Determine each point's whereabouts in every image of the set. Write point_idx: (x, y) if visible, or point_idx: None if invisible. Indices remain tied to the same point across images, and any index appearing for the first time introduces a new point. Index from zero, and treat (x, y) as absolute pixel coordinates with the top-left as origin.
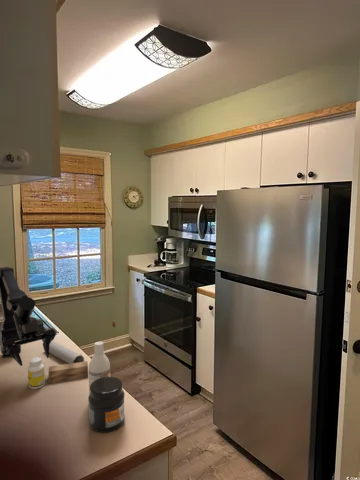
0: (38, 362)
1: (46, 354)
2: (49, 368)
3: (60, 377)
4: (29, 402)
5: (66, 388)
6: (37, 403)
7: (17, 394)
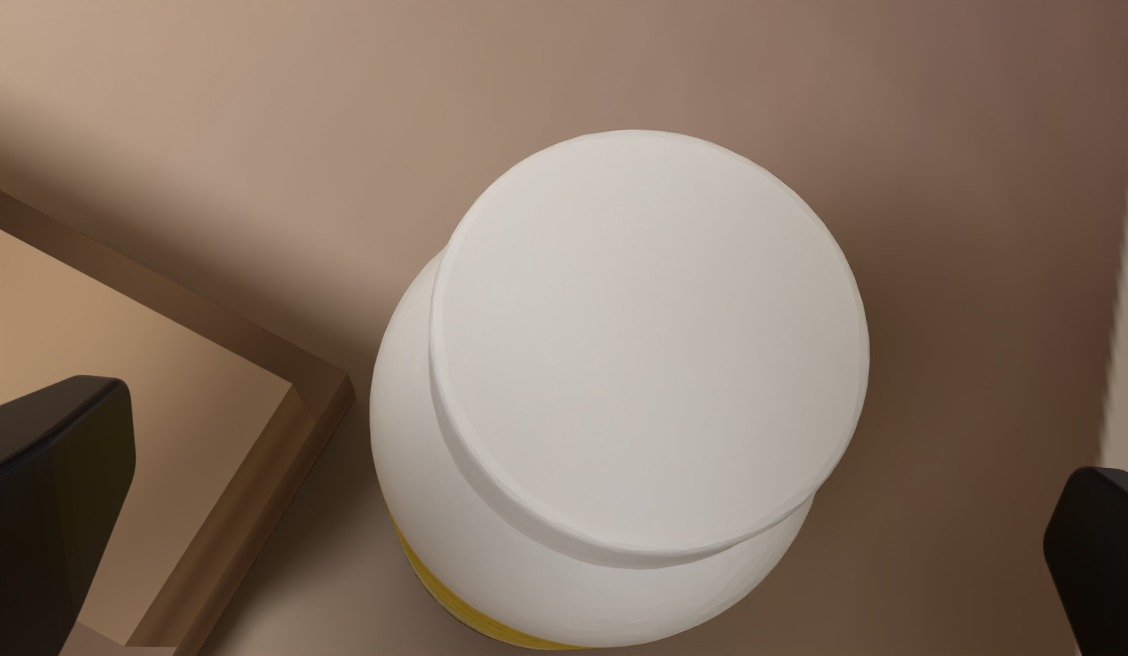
0: (616, 152)
1: (72, 505)
2: (179, 533)
3: (138, 270)
4: (817, 100)
5: (236, 35)
6: (738, 3)
7: (905, 445)
